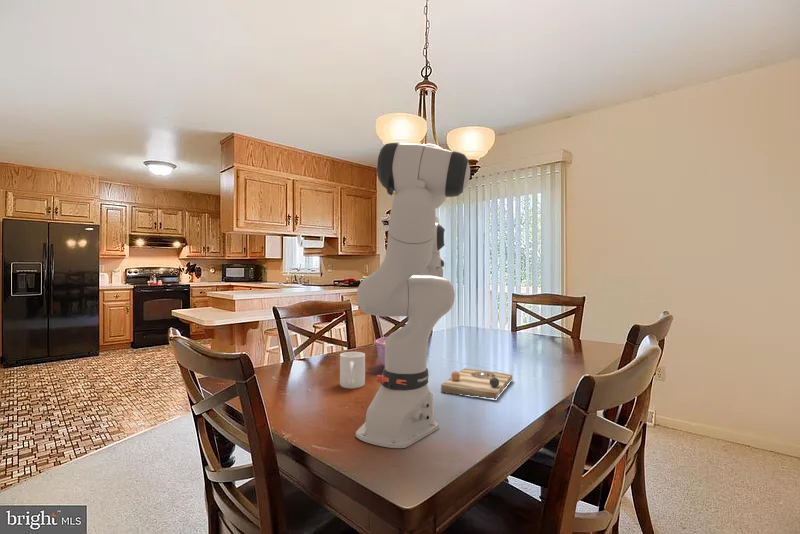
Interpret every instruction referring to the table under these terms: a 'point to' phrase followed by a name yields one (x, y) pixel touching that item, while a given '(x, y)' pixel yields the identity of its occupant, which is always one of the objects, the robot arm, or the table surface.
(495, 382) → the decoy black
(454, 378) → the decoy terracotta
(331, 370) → the table surface
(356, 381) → the mug
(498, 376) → the board
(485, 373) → the ball
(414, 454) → the table surface
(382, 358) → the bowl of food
